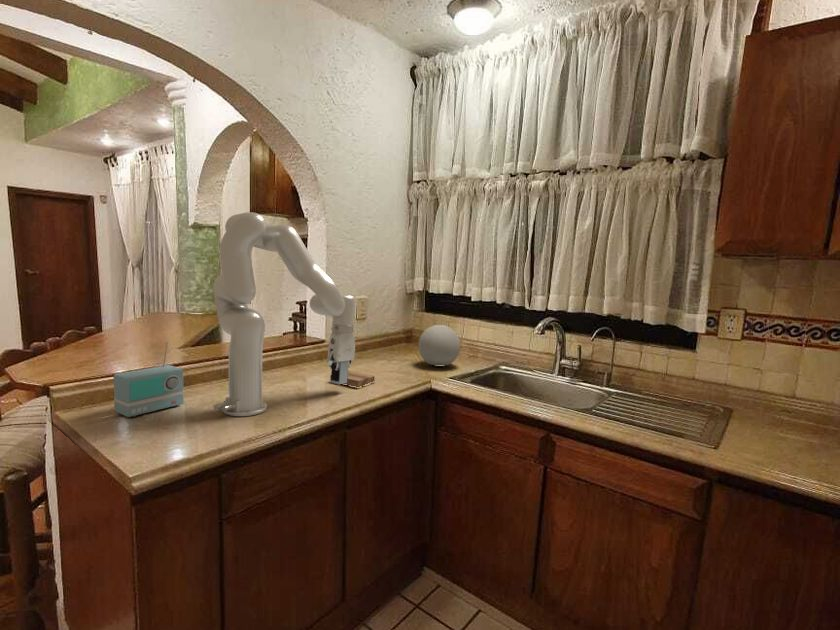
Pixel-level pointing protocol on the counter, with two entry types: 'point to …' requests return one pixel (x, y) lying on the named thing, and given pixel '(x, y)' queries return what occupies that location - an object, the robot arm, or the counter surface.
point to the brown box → (358, 379)
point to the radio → (148, 389)
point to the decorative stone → (439, 345)
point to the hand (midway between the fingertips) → (339, 379)
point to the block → (342, 373)
